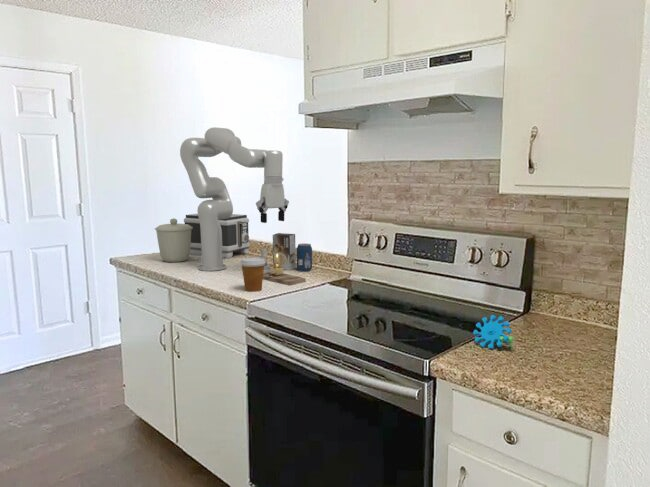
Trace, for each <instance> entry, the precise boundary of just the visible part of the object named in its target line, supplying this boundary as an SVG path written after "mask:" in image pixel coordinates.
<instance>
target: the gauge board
mask: <svg viewBox="0 0 650 487" xmlns="http://www.w3.org/2000/svg"><path fill="white" fill-rule="evenodd" d="M260 254H261V255H260V257H261V258H264V260H265V265H264V272H263V281H264V280H265V281H269V282H273V283H277V284H282V285H286V286H293V285H296V284H302V283H305V282H306V277H302V276H298V275H293V274H288V273H284V272H283V274H281V275H270V276H269V274H271V272H270V268H271V265H270V264H268V249H267V248H262V249H260Z"/></svg>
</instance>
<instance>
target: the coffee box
mask: <svg viewBox="0 0 650 487" xmlns="http://www.w3.org/2000/svg"><path fill="white" fill-rule="evenodd" d="M274 253H280V267H283V271H284V270H286V271H293V270H294V269H297V251H296V233H286V232H285V233H283V232H282V233H281V232H278V233H274V234H272V259H273V260H272V263H273V264H272V265H273V266H272V267H274Z"/></svg>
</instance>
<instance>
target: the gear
mask: <svg viewBox="0 0 650 487" xmlns="http://www.w3.org/2000/svg"><path fill="white" fill-rule="evenodd" d="M481 320H482V322H483V326H482V324H481V322H477V323H476V324H475V326H476V328H477V329H480V331H478V330H477V329H474V330H473V332H472V333H473V335H474V336H475V337H474V341H475V342H476V343H479V345H480V347H481V348H485V347H486V346H487V347H488V349H491V350H494V348H495V347H494V346H495V345H494V344H495V343H496V345H497V347H499V348H500V347H502V346H503V344H505V345H506V346H507V345H508V346H509V348H514V347H513V344H512V343H514V341H515V340H514V337H513V336H511V335H509V334H512V328H510V321H508V320H505V319H504V317H503V316H502V315H500V316H499V317H498V318H497V317H496V315H494V314H491V315H490V320H489V319H488V318H487V317H482V318H481ZM500 322H501V323H500ZM506 327H507V328H506ZM504 332H506V333H507V334H508V335H509V336H508V335H506V334H504ZM479 336H480V337H479ZM487 344H488V345H487Z"/></svg>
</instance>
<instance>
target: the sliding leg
mask: <svg viewBox="0 0 650 487" xmlns="http://www.w3.org/2000/svg"><path fill="white" fill-rule="evenodd" d="M270 272H271V274H269V276H270V275H281V274H283V273H284V270H283V267H280V253H274V267H273V266H272V267H271V268H270Z"/></svg>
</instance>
